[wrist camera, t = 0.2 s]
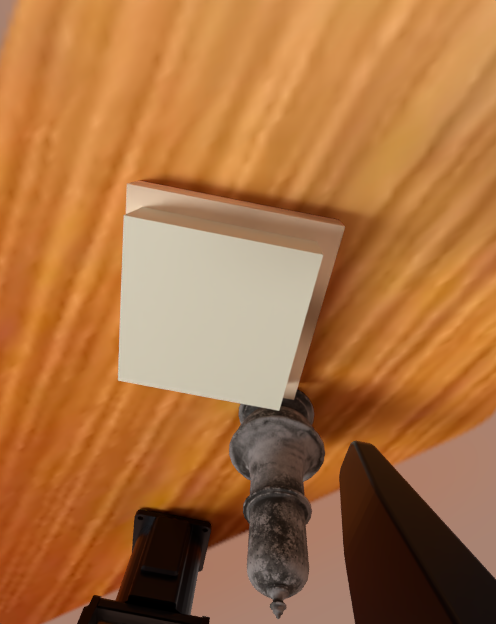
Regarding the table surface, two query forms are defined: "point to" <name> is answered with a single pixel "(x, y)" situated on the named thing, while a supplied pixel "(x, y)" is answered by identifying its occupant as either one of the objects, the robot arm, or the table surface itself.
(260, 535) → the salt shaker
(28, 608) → the table surface
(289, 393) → the birch slab
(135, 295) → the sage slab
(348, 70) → the table surface
